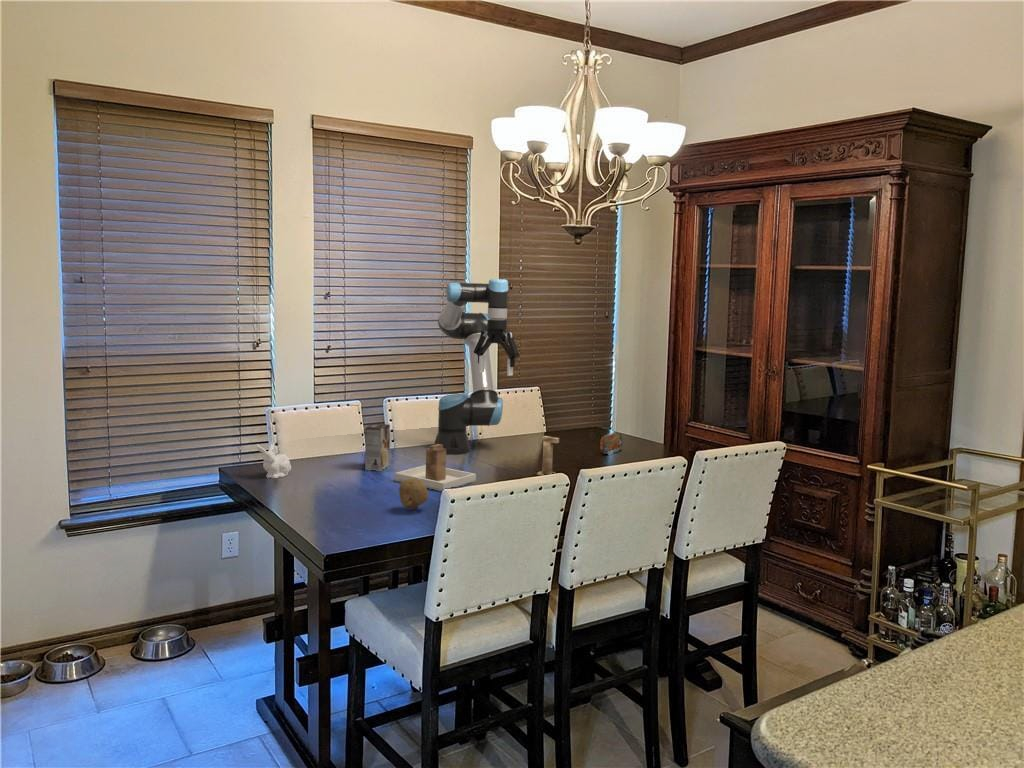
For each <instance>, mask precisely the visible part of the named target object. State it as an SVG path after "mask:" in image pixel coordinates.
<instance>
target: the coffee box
mask: <svg viewBox="0 0 1024 768" xmlns="http://www.w3.org/2000/svg"><path fill="white" fill-rule="evenodd" d="M390 428H391V427H390V424H386V423H385V424H384V423H373V424H371V425H368V426H366V427H365V432H364V433H365V437H364V439H365V442H364V444H365V449H364V450H365V455H364V458H365V461H364V462H365V464H364V469H365V471H371V470H376V471H375V472H382V471H384V470H385V469H387V468H388V467H390V443H391V442H390V434H391V433H390V431H391V430H390ZM386 467H387V468H386ZM383 469H384V470H383Z"/></svg>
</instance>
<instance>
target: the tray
mask: <svg viewBox="0 0 1024 768" xmlns="http://www.w3.org/2000/svg"><path fill="white" fill-rule="evenodd" d="M411 478H417V479H419V480H421V481H422V482H423V484H424V485H425V487H426V489H427V488H430V489H429V490H431V489H434V490H433V491H436V490H437V491H436V492H441V491H442V490H443V489H445V488H451V487H459V486H462V487H465V486H464V484H466V483H470V482H475V481H476V482H477V474H476V473H473V472H469V471H463V470H459V469H453V468H449V467H446V479H445V480H441V481H434V480H430V479H426V464H424V465H420V466H416V467H412V468H407V469H405V470H400V471H396V472H394V482H396V481H398V482H397V483H401V482H403V481H405V480H406V479H411ZM476 482H475V483H476ZM459 488H460V487H459ZM441 493H442V492H441Z"/></svg>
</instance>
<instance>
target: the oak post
mask: <svg viewBox="0 0 1024 768" xmlns="http://www.w3.org/2000/svg"><path fill="white" fill-rule="evenodd" d="M541 441H542V443H543V444H542V446H543V447H542V464H541V465H542V468H541V471H538V472H537V475H544V474H552V473H556V472H555V471H553V458H554V457H553V453H554V444H559V443H560V437H554V436H548V435H543V436H542V440H541Z"/></svg>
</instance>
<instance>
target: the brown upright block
mask: <svg viewBox="0 0 1024 768" xmlns="http://www.w3.org/2000/svg"><path fill="white" fill-rule="evenodd" d="M425 465H426V479H430V480H434V481H441V480H445V479H446V468H447V454H446V449H445V448H443V445H441V444H436V445H434V444H433V445H429V447H428V448H426V449H425Z"/></svg>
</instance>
